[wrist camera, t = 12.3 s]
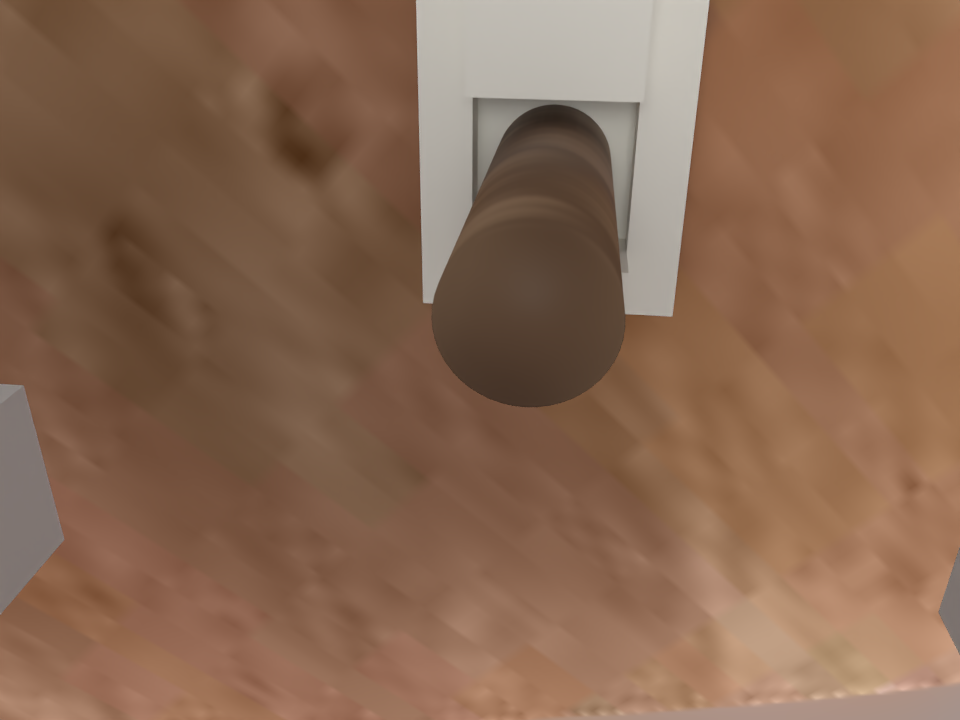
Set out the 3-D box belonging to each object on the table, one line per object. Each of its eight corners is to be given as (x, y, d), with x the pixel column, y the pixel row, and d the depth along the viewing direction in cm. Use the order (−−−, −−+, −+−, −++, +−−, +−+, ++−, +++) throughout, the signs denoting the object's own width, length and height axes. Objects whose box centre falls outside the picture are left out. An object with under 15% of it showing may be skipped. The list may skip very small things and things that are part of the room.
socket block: (434, 278, 34) (410, 328, 30) (423, -370, 25) (388, -432, 21) (667, 290, 33) (677, 344, 29) (743, -379, 24) (774, -446, 20)
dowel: (495, 215, 31) (432, 401, 19) (497, 103, 30) (429, 224, 17) (606, 220, 31) (617, 412, 18) (615, 105, 29) (633, 233, 17)
